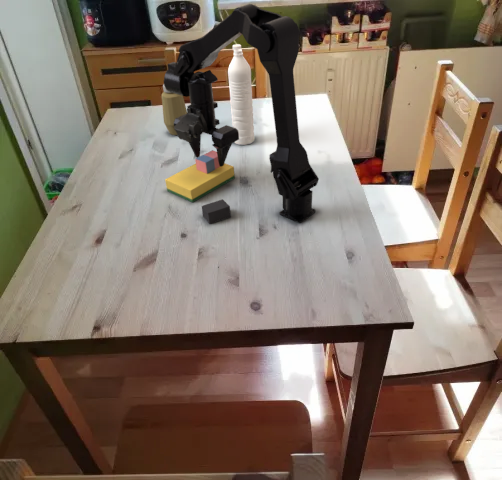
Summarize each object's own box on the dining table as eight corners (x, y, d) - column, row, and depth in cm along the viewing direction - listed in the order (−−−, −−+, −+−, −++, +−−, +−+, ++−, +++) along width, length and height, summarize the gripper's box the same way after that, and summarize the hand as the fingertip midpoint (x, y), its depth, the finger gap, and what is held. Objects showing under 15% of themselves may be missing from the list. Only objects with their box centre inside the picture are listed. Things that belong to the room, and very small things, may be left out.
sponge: (209, 168, 132) (208, 156, 130) (234, 178, 127) (233, 166, 125) (167, 191, 124) (164, 179, 122) (192, 202, 119) (190, 190, 117)
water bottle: (255, 144, 141) (250, 51, 124) (234, 146, 141) (226, 54, 123) (252, 132, 148) (247, 43, 130) (232, 134, 147) (224, 45, 129)
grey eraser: (224, 209, 116) (222, 198, 114) (230, 217, 114) (229, 206, 111) (203, 216, 114) (201, 205, 112) (209, 224, 112) (208, 213, 110)
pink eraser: (213, 160, 128) (212, 149, 126) (224, 164, 126) (222, 153, 124) (196, 169, 125) (194, 158, 123) (207, 174, 123) (205, 162, 120)
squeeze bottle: (162, 130, 153) (151, 70, 140) (185, 125, 155) (176, 65, 142) (170, 139, 148) (159, 77, 135) (193, 133, 150) (185, 72, 137)
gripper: (152, 102, 114) (164, 163, 125) (204, 119, 104) (212, 183, 116) (185, 89, 119) (194, 148, 130) (238, 103, 110) (242, 166, 121)
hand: (209, 161), depth 124 cm, fingers open, 9 cm apart
